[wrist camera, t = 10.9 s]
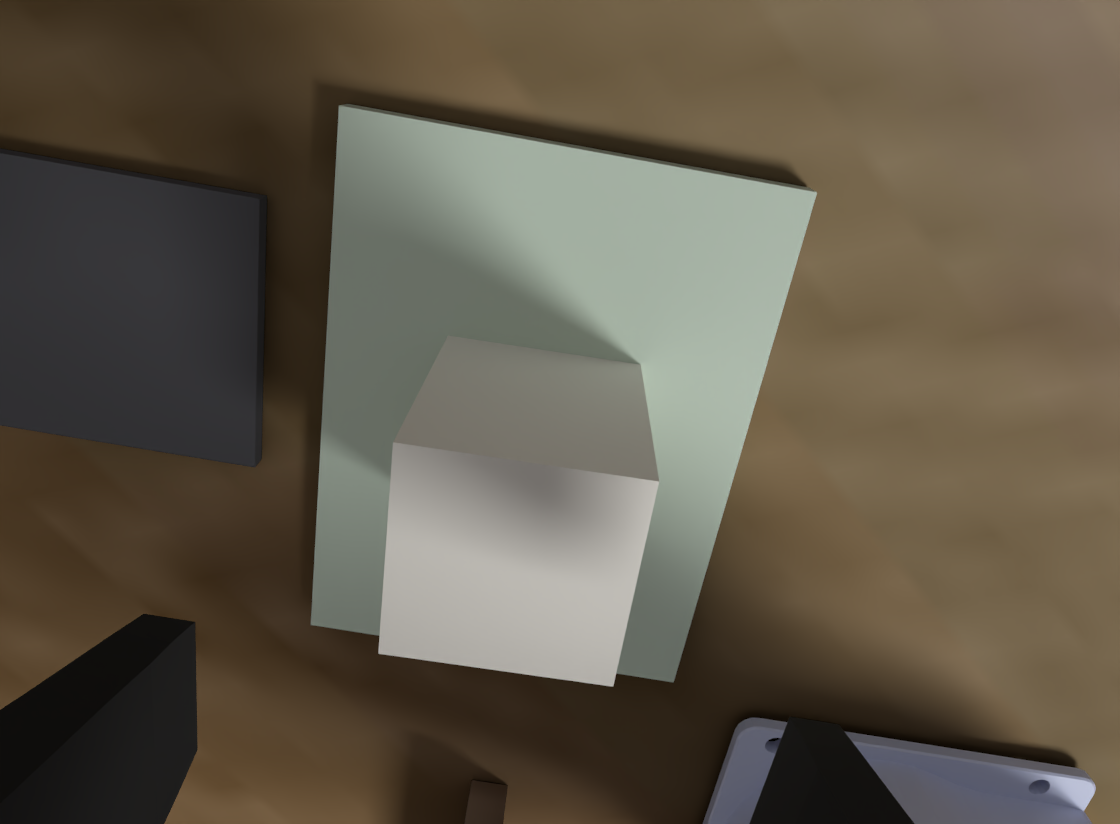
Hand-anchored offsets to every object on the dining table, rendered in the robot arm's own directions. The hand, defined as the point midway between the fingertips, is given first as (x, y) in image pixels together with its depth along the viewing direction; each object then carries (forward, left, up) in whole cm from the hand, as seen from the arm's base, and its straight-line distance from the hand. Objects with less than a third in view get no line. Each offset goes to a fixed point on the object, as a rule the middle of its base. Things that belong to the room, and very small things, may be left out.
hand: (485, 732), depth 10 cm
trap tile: (+9, -1, -9) cm, 13 cm away
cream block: (0, 0, -8) cm, 8 cm away
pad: (0, 0, -9) cm, 9 cm away
